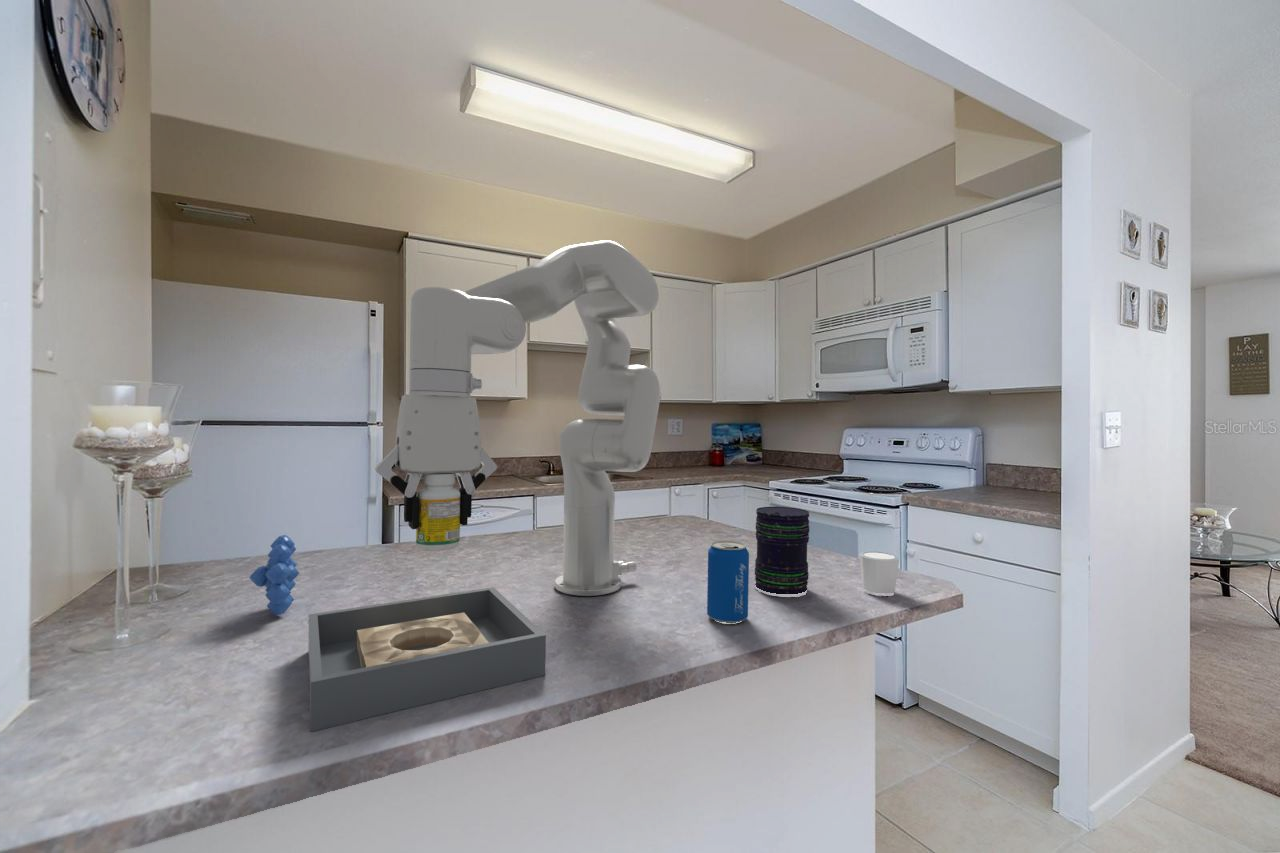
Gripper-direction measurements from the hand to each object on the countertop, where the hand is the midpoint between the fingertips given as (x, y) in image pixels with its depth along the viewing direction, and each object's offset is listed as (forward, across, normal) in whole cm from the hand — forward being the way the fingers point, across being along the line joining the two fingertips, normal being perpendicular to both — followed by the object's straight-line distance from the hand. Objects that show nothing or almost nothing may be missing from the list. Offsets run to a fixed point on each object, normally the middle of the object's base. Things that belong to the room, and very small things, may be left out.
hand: (438, 524), depth 72 cm
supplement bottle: (+3, 0, 0) cm, 3 cm away
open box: (+18, +2, 0) cm, 18 cm away
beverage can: (+18, -43, +7) cm, 47 cm away
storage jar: (+17, -62, +1) cm, 65 cm away
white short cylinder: (+17, -77, +11) cm, 80 cm away
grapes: (+18, +18, -32) cm, 41 cm away
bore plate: (+17, +2, 0) cm, 17 cm away
